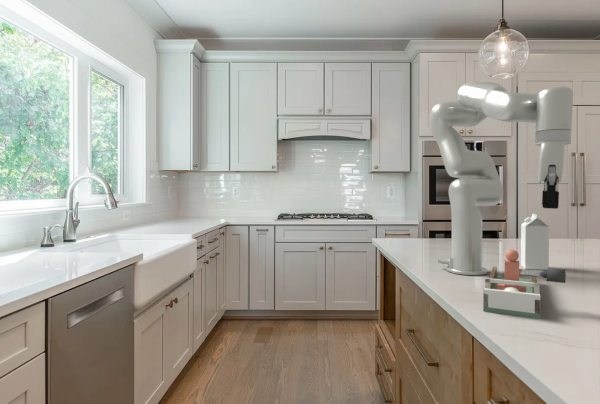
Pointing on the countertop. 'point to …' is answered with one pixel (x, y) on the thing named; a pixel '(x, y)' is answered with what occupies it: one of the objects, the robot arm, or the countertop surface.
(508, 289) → the egg
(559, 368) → the countertop surface
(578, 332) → the countertop surface
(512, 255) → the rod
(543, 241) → the milk carton
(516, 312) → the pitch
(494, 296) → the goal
